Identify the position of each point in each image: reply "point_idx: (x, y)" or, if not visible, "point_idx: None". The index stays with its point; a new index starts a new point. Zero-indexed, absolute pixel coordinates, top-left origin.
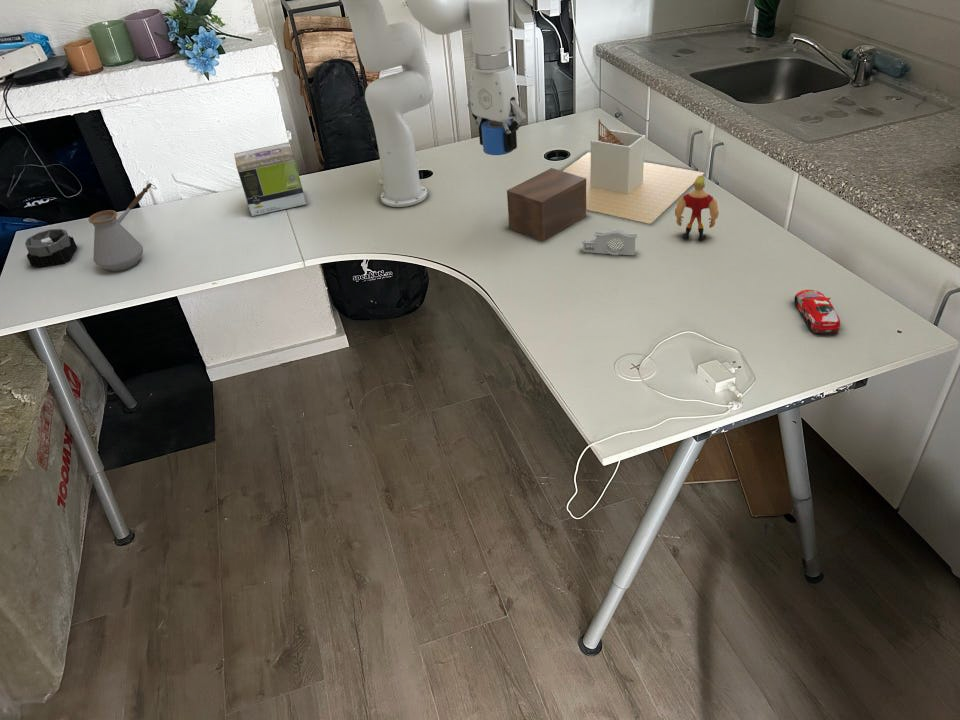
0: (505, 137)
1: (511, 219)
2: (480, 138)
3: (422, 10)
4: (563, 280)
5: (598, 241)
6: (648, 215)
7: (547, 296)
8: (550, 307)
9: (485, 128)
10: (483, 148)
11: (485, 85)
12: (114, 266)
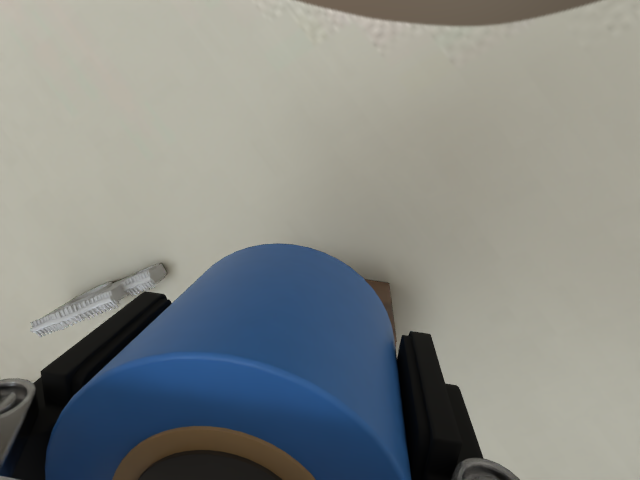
0: (71, 351)
1: (379, 293)
2: (426, 360)
3: None
4: (116, 132)
5: (114, 286)
6: None
7: (96, 45)
8: (57, 5)
9: (240, 360)
10: (354, 280)
11: None
12: None
